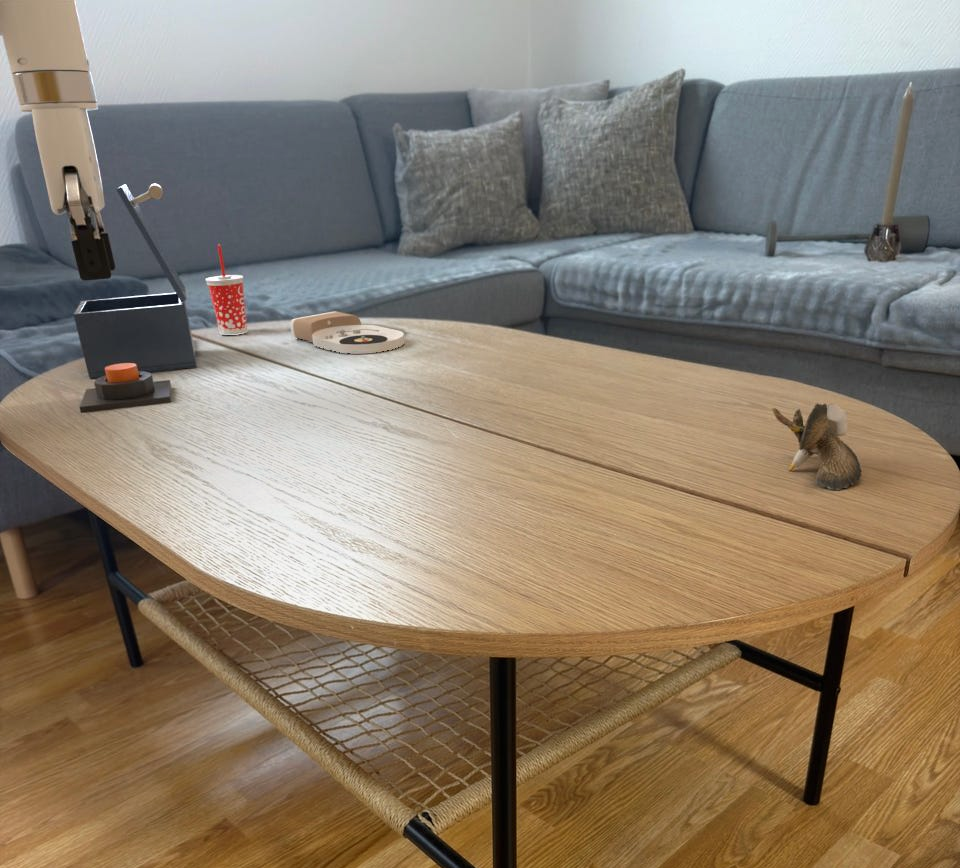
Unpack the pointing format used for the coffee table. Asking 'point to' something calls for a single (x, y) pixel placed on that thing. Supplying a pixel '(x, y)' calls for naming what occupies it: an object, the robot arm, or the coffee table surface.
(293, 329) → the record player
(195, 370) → the coffee table surface
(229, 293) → the beverage cup
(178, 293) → the lid
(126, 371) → the button
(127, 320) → the dark grey box
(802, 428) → the eagle figurine
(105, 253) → the robot arm
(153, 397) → the control block
